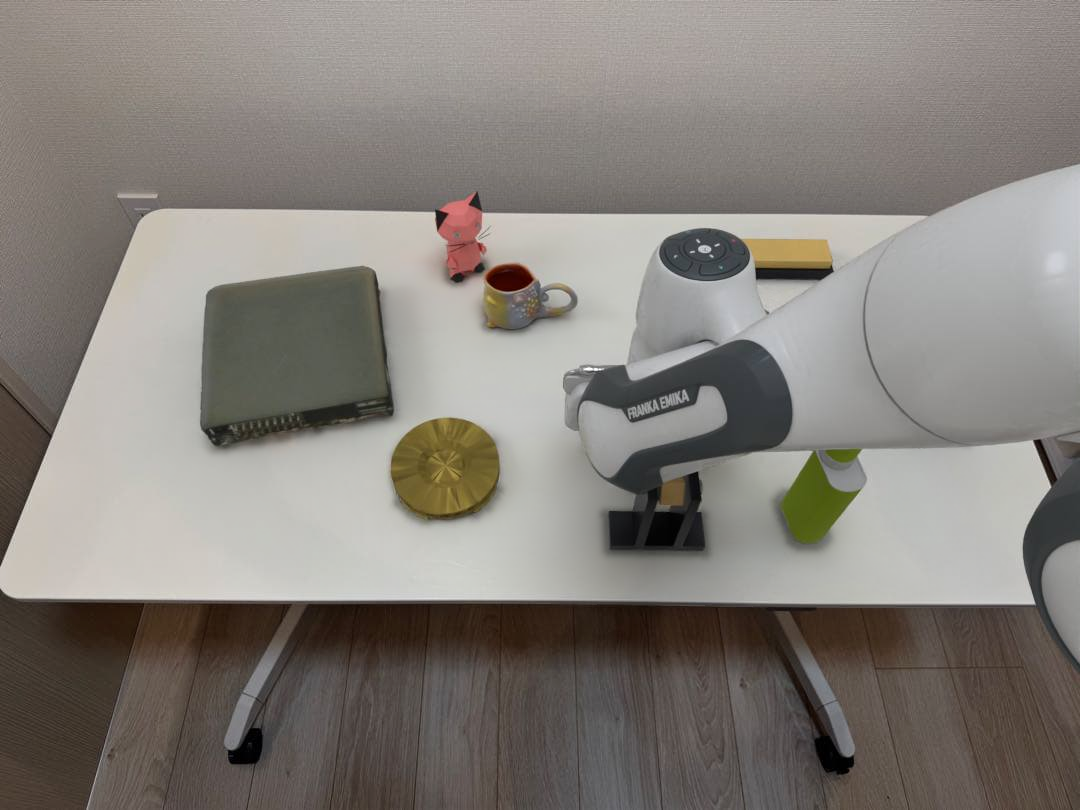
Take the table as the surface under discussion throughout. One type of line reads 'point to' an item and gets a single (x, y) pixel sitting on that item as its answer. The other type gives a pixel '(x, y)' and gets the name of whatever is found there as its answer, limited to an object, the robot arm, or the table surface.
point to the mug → (519, 296)
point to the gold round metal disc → (445, 468)
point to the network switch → (293, 354)
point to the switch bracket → (660, 522)
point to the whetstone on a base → (791, 258)
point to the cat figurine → (462, 235)
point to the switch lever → (672, 492)
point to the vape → (822, 493)
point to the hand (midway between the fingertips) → (654, 441)
